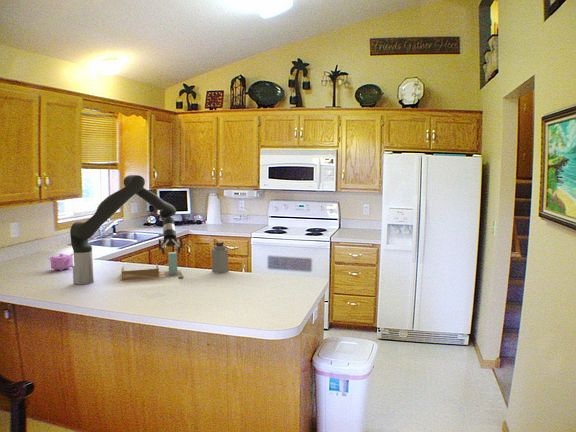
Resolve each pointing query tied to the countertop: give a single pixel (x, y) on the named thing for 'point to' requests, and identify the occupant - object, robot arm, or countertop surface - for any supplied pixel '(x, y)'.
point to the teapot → (61, 262)
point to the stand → (147, 274)
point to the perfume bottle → (219, 258)
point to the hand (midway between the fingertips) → (171, 253)
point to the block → (172, 262)
